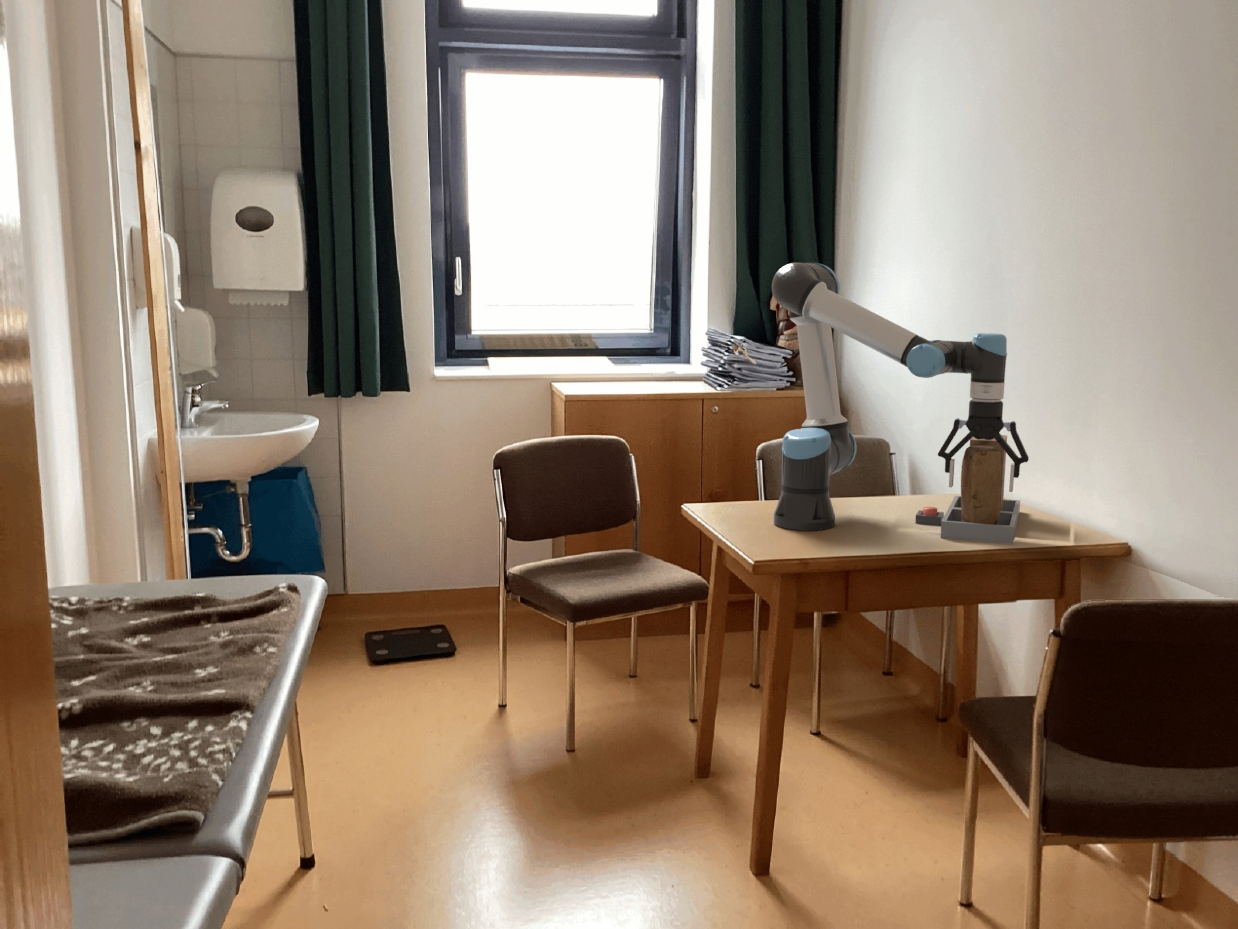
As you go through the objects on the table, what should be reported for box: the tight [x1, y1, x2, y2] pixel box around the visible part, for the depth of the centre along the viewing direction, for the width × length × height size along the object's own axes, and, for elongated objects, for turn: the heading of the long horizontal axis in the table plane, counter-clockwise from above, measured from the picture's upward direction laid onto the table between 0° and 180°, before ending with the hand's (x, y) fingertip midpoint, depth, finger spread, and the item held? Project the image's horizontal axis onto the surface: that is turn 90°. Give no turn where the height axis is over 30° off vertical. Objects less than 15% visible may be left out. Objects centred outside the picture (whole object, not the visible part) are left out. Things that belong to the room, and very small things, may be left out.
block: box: [960, 445, 1001, 525], centre depth 249 cm, size 11×8×20 cm
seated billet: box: [969, 434, 1008, 511], centre depth 264 cm, size 8×11×20 cm
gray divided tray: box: [940, 495, 1021, 545], centre depth 258 cm, size 16×32×4 cm, turn 157°
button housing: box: [915, 509, 945, 526], centre depth 259 cm, size 6×6×3 cm
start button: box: [922, 506, 938, 516], centre depth 259 cm, size 3×3×4 cm
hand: (980, 488), depth 249 cm, fingers open, 13 cm apart
